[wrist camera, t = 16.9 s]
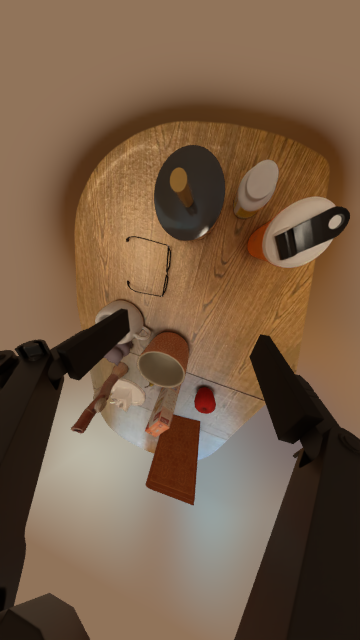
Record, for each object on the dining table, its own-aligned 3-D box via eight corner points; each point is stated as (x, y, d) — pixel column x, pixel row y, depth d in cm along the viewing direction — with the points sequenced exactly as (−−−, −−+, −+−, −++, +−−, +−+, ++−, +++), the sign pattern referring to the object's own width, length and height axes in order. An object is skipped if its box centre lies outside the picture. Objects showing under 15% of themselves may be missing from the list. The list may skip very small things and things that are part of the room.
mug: (108, 323, 60) (90, 336, 51) (111, 291, 51) (91, 299, 43) (150, 343, 60) (139, 359, 51) (160, 314, 51) (150, 327, 43)
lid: (241, 184, 24) (255, 152, 16) (194, 254, 31) (187, 255, 23) (180, 126, 22) (162, 59, 15) (145, 214, 29) (120, 200, 22)
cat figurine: (137, 342, 61) (121, 360, 51) (131, 351, 65) (116, 370, 55) (121, 332, 61) (102, 348, 50) (116, 342, 65) (98, 359, 54)
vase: (117, 370, 75) (68, 432, 49) (114, 361, 72) (58, 422, 46) (134, 372, 73) (90, 439, 47) (130, 363, 70) (82, 429, 44)
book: (200, 421, 81) (194, 501, 55) (199, 427, 85) (193, 505, 59) (165, 412, 85) (144, 482, 60) (166, 419, 89) (146, 487, 63)
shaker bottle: (287, 246, 33) (367, 240, 16) (252, 268, 37) (285, 282, 20) (273, 212, 31) (348, 163, 14) (237, 239, 35) (260, 227, 18)
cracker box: (172, 375, 67) (156, 421, 49) (182, 381, 67) (170, 428, 49) (160, 387, 74) (144, 431, 56) (169, 392, 74) (156, 438, 56)
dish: (104, 377, 82) (89, 394, 72) (138, 379, 75) (127, 398, 65) (119, 401, 92) (108, 418, 83) (150, 405, 85) (142, 425, 76)
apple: (201, 396, 69) (199, 419, 60) (192, 385, 67) (189, 407, 57) (218, 393, 65) (219, 417, 56) (209, 381, 63) (209, 404, 53)
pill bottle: (261, 214, 32) (284, 196, 22) (233, 223, 34) (242, 211, 24) (261, 179, 29) (287, 141, 19) (231, 191, 31) (239, 163, 21)
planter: (194, 357, 58) (189, 389, 45) (160, 358, 63) (146, 386, 50) (187, 324, 51) (178, 350, 38) (149, 328, 56) (129, 352, 43)
